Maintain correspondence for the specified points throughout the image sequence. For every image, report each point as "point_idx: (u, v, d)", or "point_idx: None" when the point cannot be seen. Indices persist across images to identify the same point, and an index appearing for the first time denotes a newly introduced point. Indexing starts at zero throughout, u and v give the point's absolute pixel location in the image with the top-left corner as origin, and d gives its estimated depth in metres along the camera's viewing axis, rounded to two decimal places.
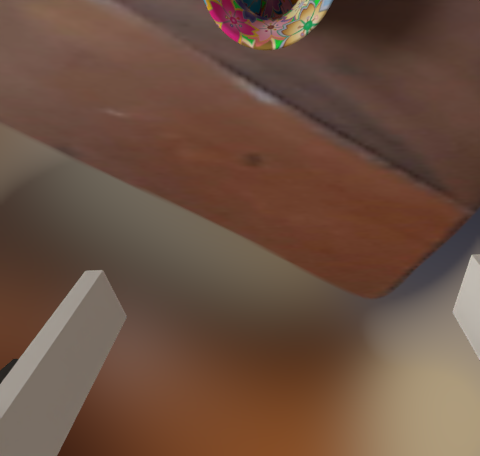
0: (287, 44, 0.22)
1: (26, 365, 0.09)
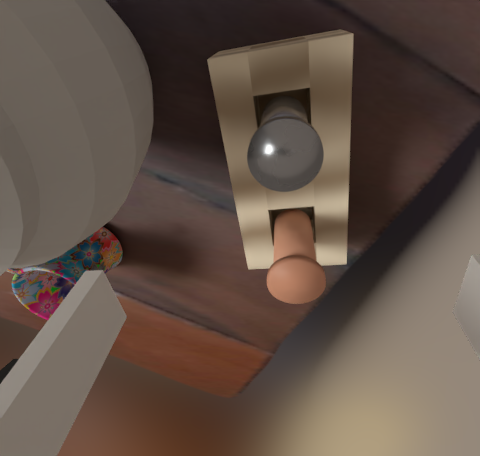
0: None
1: (26, 365, 0.09)
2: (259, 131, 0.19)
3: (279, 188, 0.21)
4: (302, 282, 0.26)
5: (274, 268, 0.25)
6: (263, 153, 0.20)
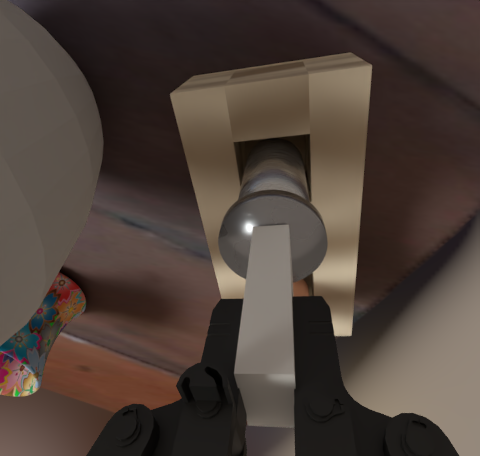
0: (22, 395, 0.32)
1: (256, 298, 0.10)
2: (234, 212, 0.13)
3: None
4: None
5: None
6: (241, 239, 0.14)
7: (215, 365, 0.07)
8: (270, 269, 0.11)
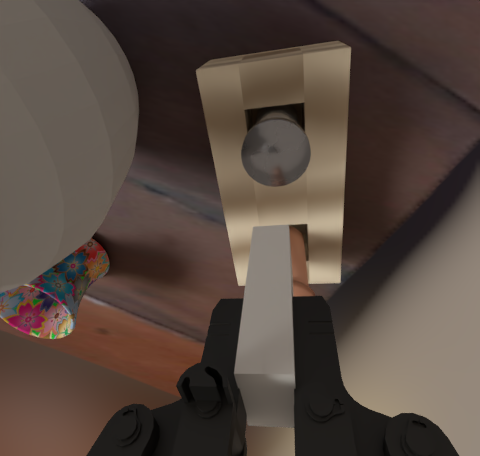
0: None
1: (256, 298, 0.10)
2: (252, 130, 0.21)
3: (270, 183, 0.23)
4: None
5: None
6: (256, 150, 0.22)
7: (215, 365, 0.07)
8: (270, 269, 0.11)
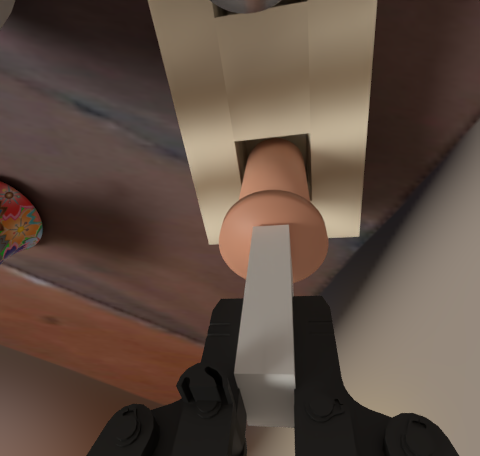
0: None
1: (256, 298, 0.10)
2: None
3: (239, 5, 0.12)
4: None
5: (230, 215, 0.13)
6: None
7: (215, 365, 0.07)
8: (270, 269, 0.11)
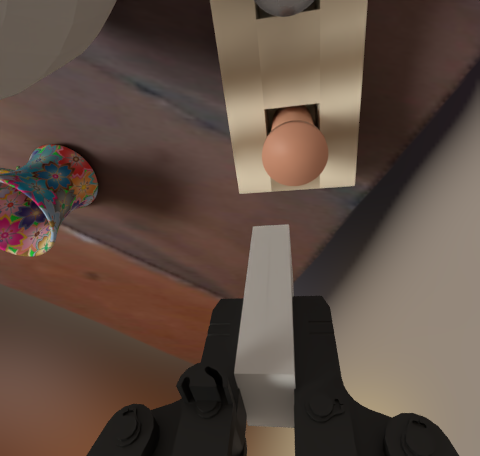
0: (37, 255, 0.33)
1: (256, 298, 0.10)
2: None
3: (279, 12, 0.19)
4: (302, 154, 0.23)
5: (270, 135, 0.22)
6: None
7: (215, 365, 0.07)
8: (270, 269, 0.11)
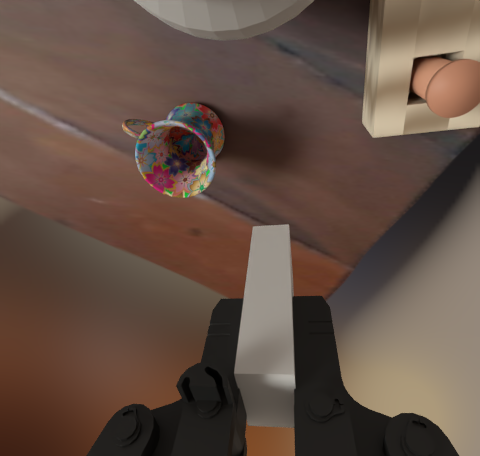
0: (191, 195, 0.38)
1: (256, 298, 0.10)
2: None
3: None
4: (465, 87, 0.28)
5: (442, 71, 0.27)
6: None
7: (215, 365, 0.07)
8: (270, 269, 0.11)
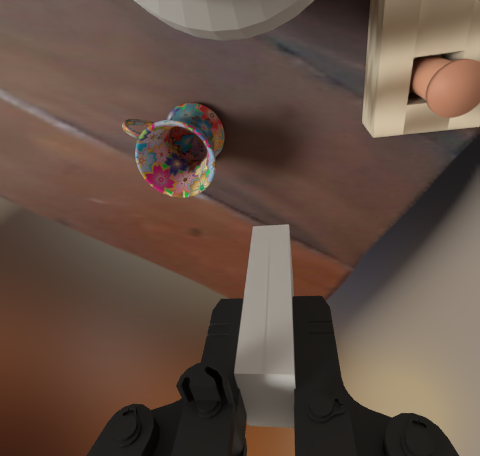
0: (191, 195, 0.38)
1: (256, 298, 0.10)
2: None
3: None
4: (465, 87, 0.28)
5: (442, 71, 0.27)
6: None
7: (215, 365, 0.07)
8: (270, 269, 0.11)
